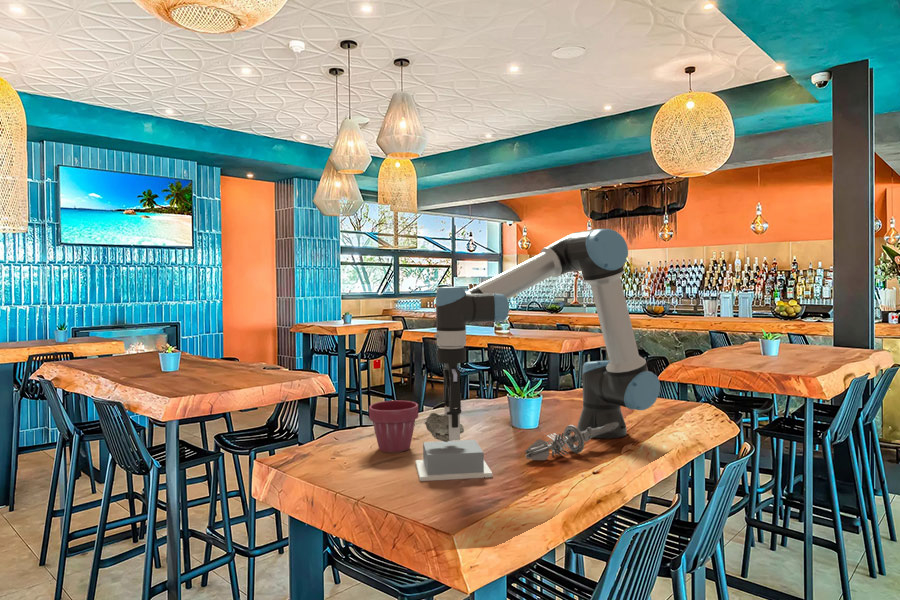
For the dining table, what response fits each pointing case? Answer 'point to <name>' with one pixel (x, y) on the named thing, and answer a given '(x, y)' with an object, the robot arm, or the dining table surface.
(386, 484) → the dining table surface
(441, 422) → the rock sample
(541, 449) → the spaceship
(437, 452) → the plinth
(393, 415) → the plant pot
